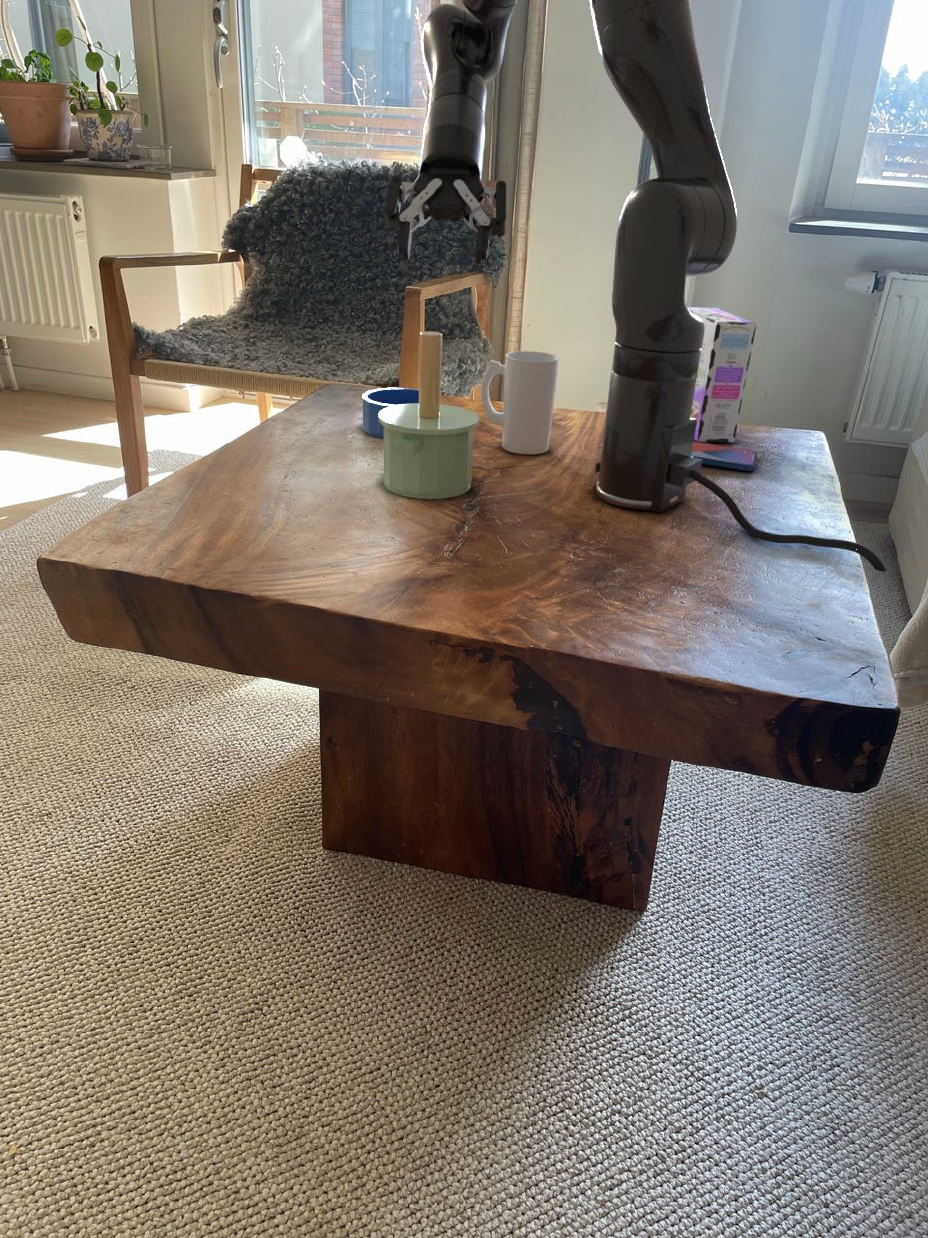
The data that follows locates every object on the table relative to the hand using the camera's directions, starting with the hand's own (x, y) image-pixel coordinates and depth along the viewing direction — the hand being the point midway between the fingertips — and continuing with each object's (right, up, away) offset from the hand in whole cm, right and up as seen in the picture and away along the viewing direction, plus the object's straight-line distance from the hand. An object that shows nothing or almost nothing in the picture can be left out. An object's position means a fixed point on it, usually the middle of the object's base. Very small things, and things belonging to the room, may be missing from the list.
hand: (442, 257), depth 103 cm
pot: (-2, -26, +1) cm, 26 cm away
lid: (-1, -20, -3) cm, 20 cm away
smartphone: (+34, -21, +15) cm, 42 cm away
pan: (-6, -15, +21) cm, 27 cm away
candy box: (+37, -14, +27) cm, 48 cm away
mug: (+9, -19, +16) cm, 26 cm away
